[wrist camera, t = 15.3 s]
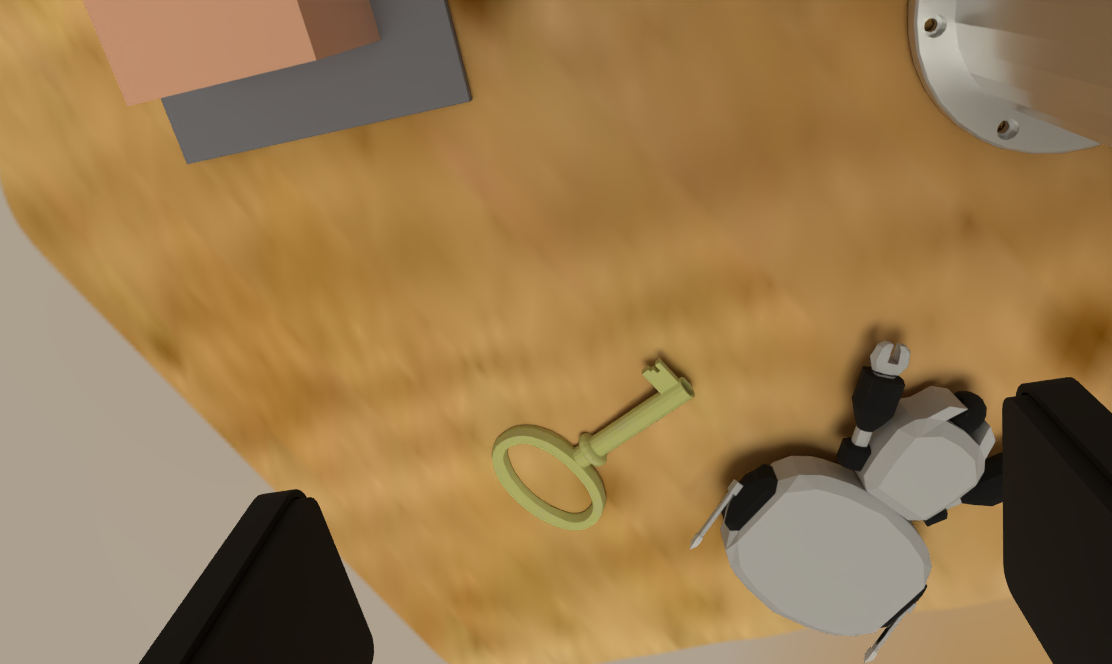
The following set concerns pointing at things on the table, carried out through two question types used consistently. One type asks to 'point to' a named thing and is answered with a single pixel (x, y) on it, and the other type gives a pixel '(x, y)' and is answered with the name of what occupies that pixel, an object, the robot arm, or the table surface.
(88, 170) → the table surface
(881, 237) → the table surface
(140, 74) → the brown cube
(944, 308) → the table surface
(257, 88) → the charcoal mat
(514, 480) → the key
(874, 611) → the robot toy
